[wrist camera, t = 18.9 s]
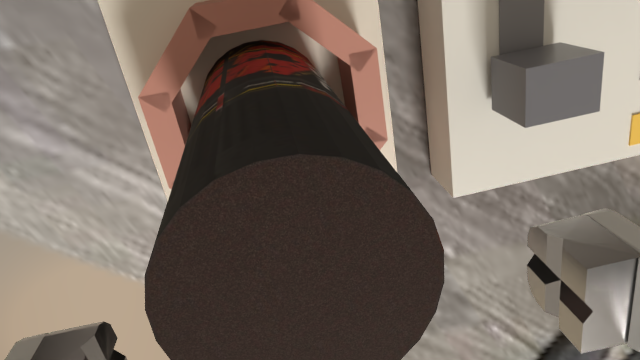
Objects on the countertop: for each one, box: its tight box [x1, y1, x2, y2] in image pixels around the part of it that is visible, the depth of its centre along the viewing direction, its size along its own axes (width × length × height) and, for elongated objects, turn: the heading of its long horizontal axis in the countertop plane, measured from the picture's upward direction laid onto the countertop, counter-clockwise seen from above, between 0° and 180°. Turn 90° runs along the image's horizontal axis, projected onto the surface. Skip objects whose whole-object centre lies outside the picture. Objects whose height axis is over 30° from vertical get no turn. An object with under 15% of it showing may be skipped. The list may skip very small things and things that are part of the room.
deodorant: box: [145, 40, 444, 360], centre depth 16 cm, size 6×6×15 cm
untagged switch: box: [491, 42, 604, 128], centre depth 20 cm, size 2×3×3 cm
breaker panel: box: [417, 0, 640, 198], centre depth 22 cm, size 16×14×4 cm
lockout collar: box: [98, 0, 397, 201], centre depth 22 cm, size 12×12×3 cm
